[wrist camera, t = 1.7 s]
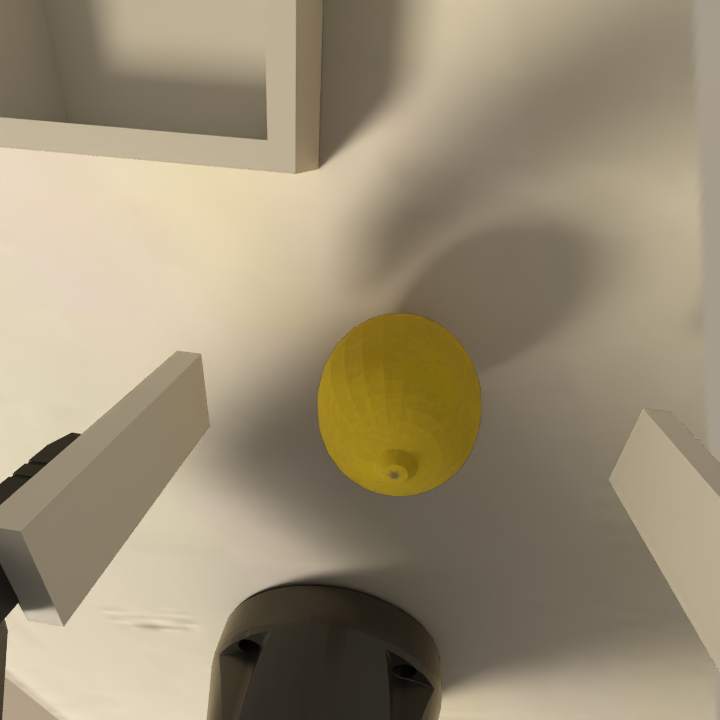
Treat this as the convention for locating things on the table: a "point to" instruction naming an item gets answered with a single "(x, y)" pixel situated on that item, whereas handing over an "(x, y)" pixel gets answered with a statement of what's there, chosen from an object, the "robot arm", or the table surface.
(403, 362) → the lemon
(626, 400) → the table surface
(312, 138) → the tray
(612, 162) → the table surface
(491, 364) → the table surface
